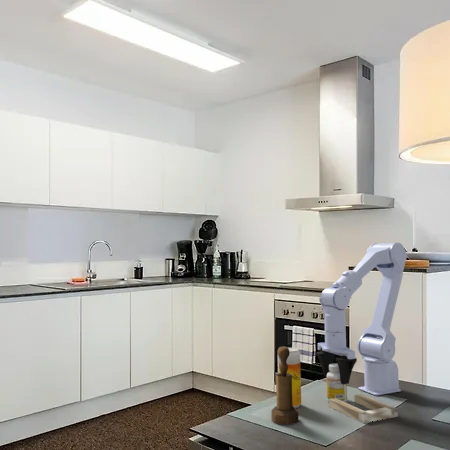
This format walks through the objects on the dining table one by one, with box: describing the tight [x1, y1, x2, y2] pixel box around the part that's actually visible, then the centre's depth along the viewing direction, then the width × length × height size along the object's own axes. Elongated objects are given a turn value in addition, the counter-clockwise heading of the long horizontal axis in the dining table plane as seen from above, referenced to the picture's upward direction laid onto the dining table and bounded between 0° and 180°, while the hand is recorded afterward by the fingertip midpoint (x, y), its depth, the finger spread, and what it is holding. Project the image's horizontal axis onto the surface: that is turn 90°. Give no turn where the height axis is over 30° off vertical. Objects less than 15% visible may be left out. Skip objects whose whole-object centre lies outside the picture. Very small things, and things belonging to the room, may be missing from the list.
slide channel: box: [328, 393, 398, 424], centre depth 126 cm, size 10×14×2 cm
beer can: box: [277, 347, 302, 409], centre depth 132 cm, size 6×6×15 cm
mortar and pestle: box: [271, 345, 299, 426], centre depth 121 cm, size 7×6×18 cm
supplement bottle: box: [326, 363, 348, 403], centre depth 136 cm, size 5×5×10 cm
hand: (336, 380), depth 136 cm, fingers open, 7 cm apart
